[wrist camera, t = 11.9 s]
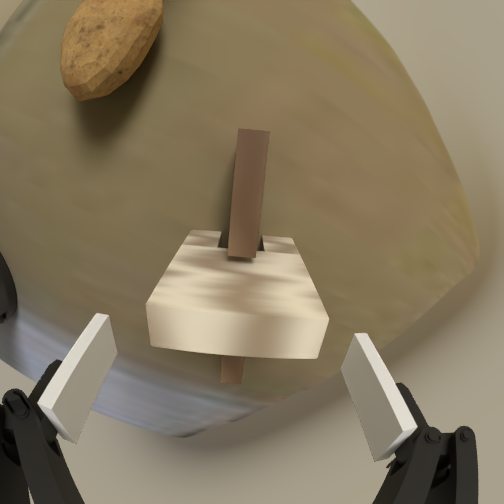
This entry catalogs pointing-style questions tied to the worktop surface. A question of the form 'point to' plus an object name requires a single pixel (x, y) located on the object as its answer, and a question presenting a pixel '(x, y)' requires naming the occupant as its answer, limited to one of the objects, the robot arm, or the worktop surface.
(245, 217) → the walnut board
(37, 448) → the robot arm
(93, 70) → the potato
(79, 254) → the worktop surface
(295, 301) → the birch plate
